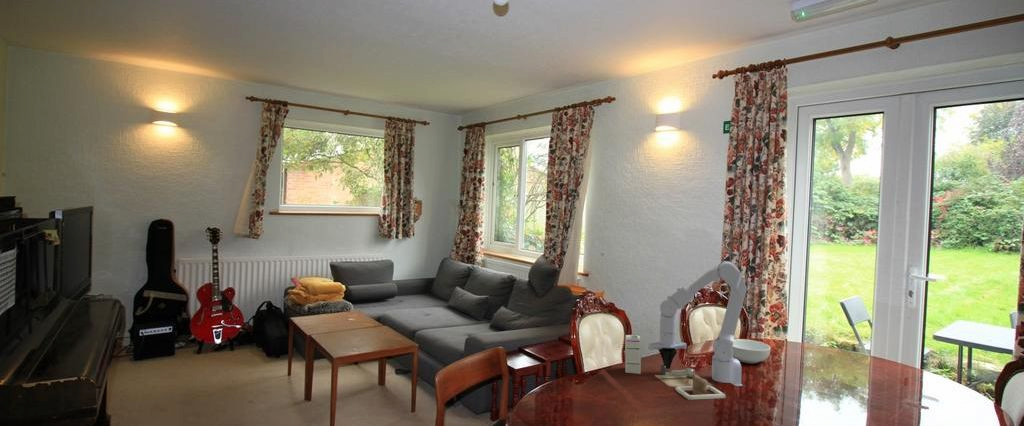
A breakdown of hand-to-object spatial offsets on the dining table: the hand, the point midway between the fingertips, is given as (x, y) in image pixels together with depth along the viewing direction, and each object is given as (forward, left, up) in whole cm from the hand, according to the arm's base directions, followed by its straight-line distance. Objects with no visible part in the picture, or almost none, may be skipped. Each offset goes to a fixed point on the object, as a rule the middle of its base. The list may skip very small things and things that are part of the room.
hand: (667, 368), depth 187 cm
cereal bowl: (-44, -16, -4) cm, 47 cm away
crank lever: (-1, +6, -1) cm, 6 cm away
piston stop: (-1, +21, -3) cm, 22 cm away
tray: (-1, +22, -3) cm, 22 cm away
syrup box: (+12, -4, -4) cm, 13 cm away
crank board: (-2, +8, -3) cm, 9 cm away
